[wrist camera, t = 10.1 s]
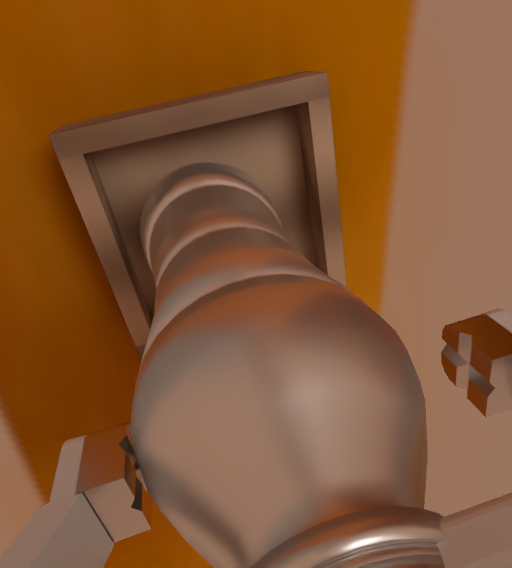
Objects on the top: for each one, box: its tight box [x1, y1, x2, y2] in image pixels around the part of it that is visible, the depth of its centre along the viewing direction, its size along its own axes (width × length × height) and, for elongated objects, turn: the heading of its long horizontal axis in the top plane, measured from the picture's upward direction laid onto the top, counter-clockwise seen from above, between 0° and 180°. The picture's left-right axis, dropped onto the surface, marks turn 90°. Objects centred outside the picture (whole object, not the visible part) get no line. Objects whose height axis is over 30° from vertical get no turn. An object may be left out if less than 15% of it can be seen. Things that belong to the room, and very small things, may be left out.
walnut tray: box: [48, 71, 347, 361], centre depth 22 cm, size 12×12×3 cm
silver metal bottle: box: [130, 162, 446, 568], centre depth 13 cm, size 6×7×20 cm
